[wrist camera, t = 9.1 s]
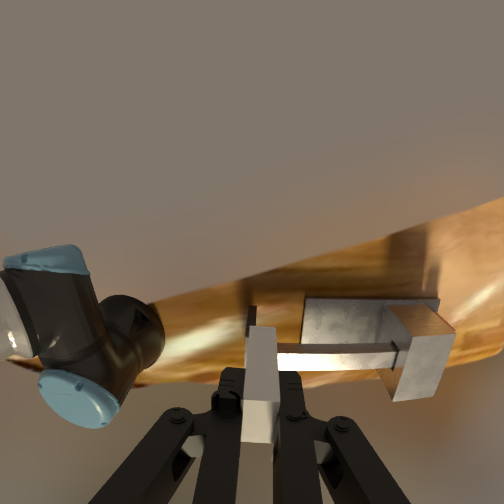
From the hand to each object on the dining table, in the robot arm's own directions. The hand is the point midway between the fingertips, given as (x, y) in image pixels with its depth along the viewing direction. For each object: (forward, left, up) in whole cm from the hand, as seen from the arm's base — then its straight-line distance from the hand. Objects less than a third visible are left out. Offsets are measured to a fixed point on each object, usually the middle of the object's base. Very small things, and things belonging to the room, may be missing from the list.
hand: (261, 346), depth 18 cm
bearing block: (+21, -16, -32) cm, 42 cm away
